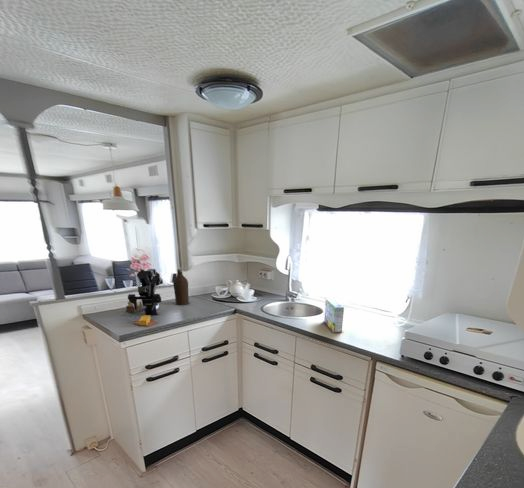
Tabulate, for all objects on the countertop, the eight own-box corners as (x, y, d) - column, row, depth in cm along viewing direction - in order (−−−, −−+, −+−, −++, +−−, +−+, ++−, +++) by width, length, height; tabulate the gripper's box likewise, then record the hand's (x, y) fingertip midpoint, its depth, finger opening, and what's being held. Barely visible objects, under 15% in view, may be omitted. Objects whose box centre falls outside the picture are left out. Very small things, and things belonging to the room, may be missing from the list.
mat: (133, 323, 196) (133, 322, 196) (143, 320, 203) (143, 319, 203) (147, 326, 192) (146, 325, 192) (156, 322, 198) (156, 322, 198)
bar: (143, 319, 202) (142, 315, 201) (150, 319, 202) (149, 315, 201) (139, 325, 192) (138, 320, 191) (146, 325, 192) (146, 320, 191)
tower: (142, 310, 223) (140, 300, 221) (134, 313, 217) (132, 302, 215) (134, 309, 226) (133, 299, 223) (126, 311, 220) (125, 301, 218)
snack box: (323, 321, 205) (325, 298, 200) (331, 321, 206) (334, 298, 200) (332, 332, 186) (335, 307, 180) (342, 332, 186) (345, 307, 181)
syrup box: (154, 302, 223) (135, 300, 225) (154, 310, 225) (136, 308, 228) (158, 300, 228) (139, 298, 231) (159, 308, 230) (140, 306, 233)
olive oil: (192, 304, 242) (189, 269, 233) (178, 306, 236) (175, 271, 227) (185, 301, 250) (183, 268, 240) (172, 303, 244) (169, 269, 234)
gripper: (126, 280, 192) (123, 303, 187) (158, 280, 195) (156, 303, 189) (131, 291, 203) (129, 313, 197) (161, 290, 205) (160, 312, 199)
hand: (143, 310), depth 195 cm, fingers open, 9 cm apart
